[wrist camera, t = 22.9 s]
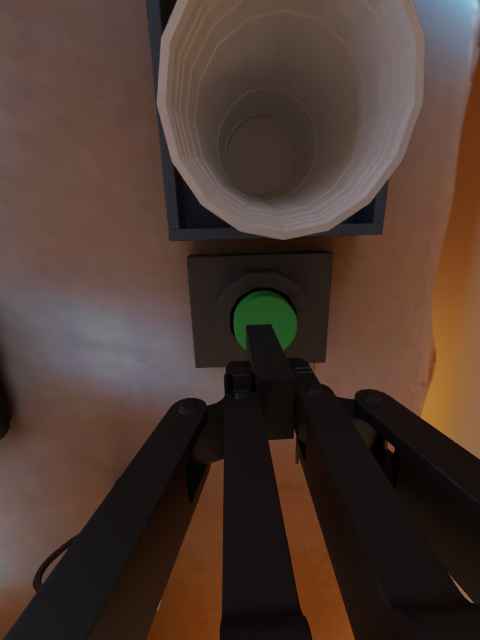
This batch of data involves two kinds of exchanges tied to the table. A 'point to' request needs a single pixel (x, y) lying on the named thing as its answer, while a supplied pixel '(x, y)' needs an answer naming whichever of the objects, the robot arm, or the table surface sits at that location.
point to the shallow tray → (182, 203)
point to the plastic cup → (289, 106)
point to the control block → (250, 276)
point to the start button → (265, 316)
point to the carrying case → (4, 417)
